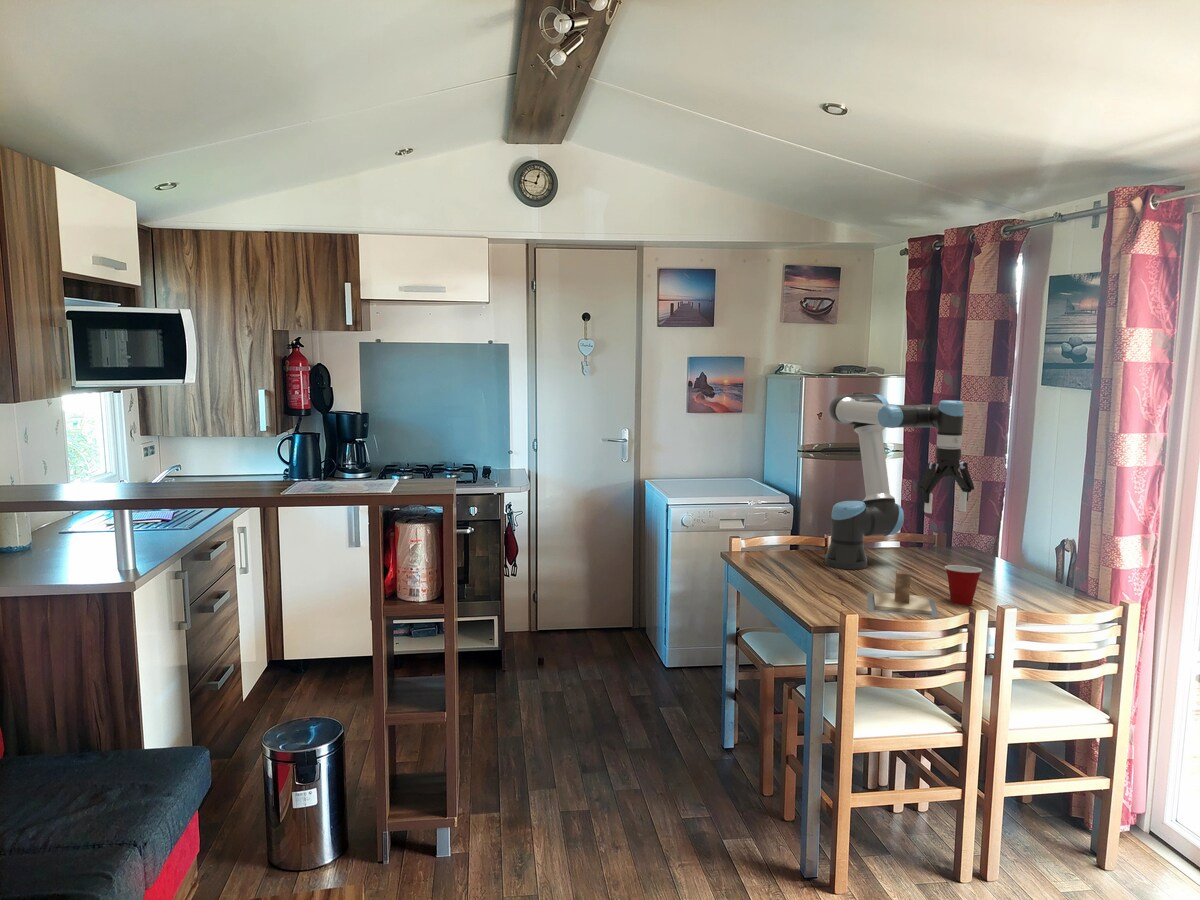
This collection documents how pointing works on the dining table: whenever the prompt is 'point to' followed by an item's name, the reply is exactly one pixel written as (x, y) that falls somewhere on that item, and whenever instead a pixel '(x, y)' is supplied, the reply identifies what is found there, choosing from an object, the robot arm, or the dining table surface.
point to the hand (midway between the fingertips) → (945, 512)
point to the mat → (872, 608)
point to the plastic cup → (962, 583)
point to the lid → (902, 598)
